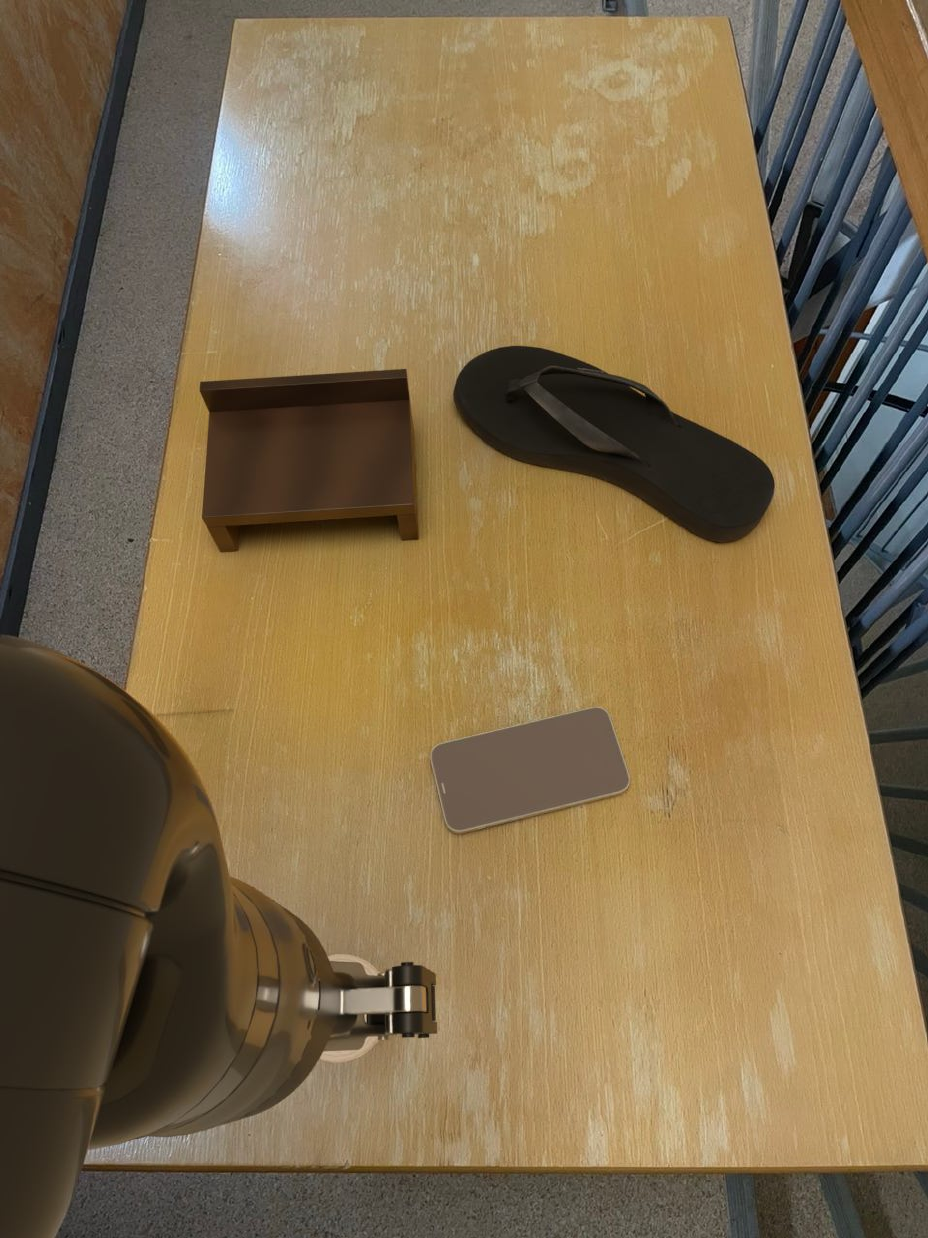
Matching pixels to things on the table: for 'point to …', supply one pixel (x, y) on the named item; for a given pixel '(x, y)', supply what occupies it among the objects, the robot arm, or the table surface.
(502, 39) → the table surface
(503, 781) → the smartphone
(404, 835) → the table surface
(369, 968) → the smoothie
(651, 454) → the sandal
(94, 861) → the robot arm
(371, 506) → the shelf
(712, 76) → the table surface
